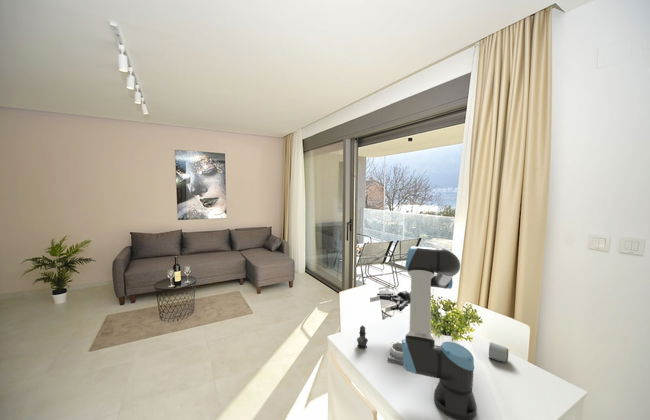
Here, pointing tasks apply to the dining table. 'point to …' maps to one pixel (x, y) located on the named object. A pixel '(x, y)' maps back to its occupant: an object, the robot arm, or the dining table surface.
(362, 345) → the dark figurine
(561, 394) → the dining table surface
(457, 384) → the robot arm
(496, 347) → the grey rounded block
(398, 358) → the housing
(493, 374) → the dining table surface
